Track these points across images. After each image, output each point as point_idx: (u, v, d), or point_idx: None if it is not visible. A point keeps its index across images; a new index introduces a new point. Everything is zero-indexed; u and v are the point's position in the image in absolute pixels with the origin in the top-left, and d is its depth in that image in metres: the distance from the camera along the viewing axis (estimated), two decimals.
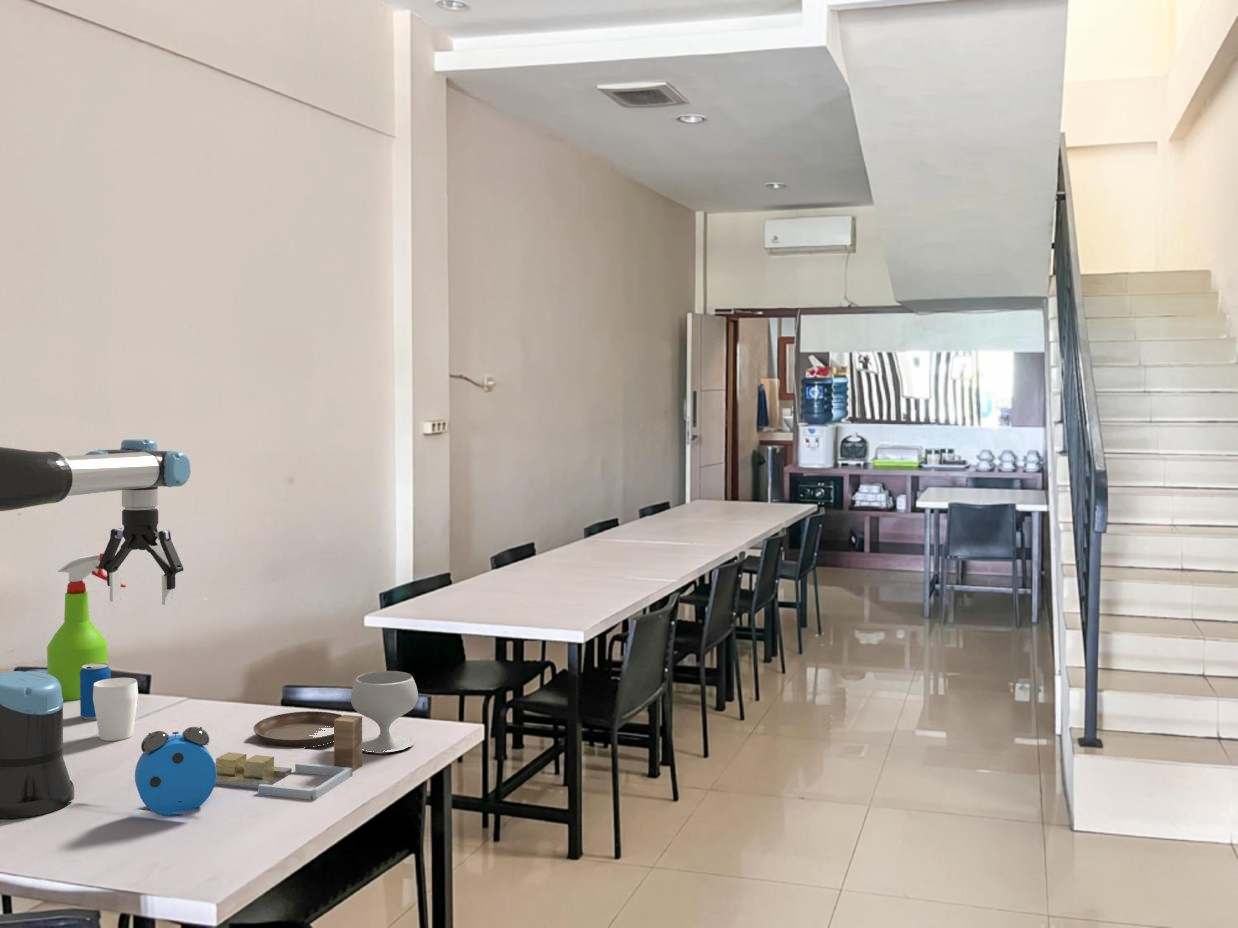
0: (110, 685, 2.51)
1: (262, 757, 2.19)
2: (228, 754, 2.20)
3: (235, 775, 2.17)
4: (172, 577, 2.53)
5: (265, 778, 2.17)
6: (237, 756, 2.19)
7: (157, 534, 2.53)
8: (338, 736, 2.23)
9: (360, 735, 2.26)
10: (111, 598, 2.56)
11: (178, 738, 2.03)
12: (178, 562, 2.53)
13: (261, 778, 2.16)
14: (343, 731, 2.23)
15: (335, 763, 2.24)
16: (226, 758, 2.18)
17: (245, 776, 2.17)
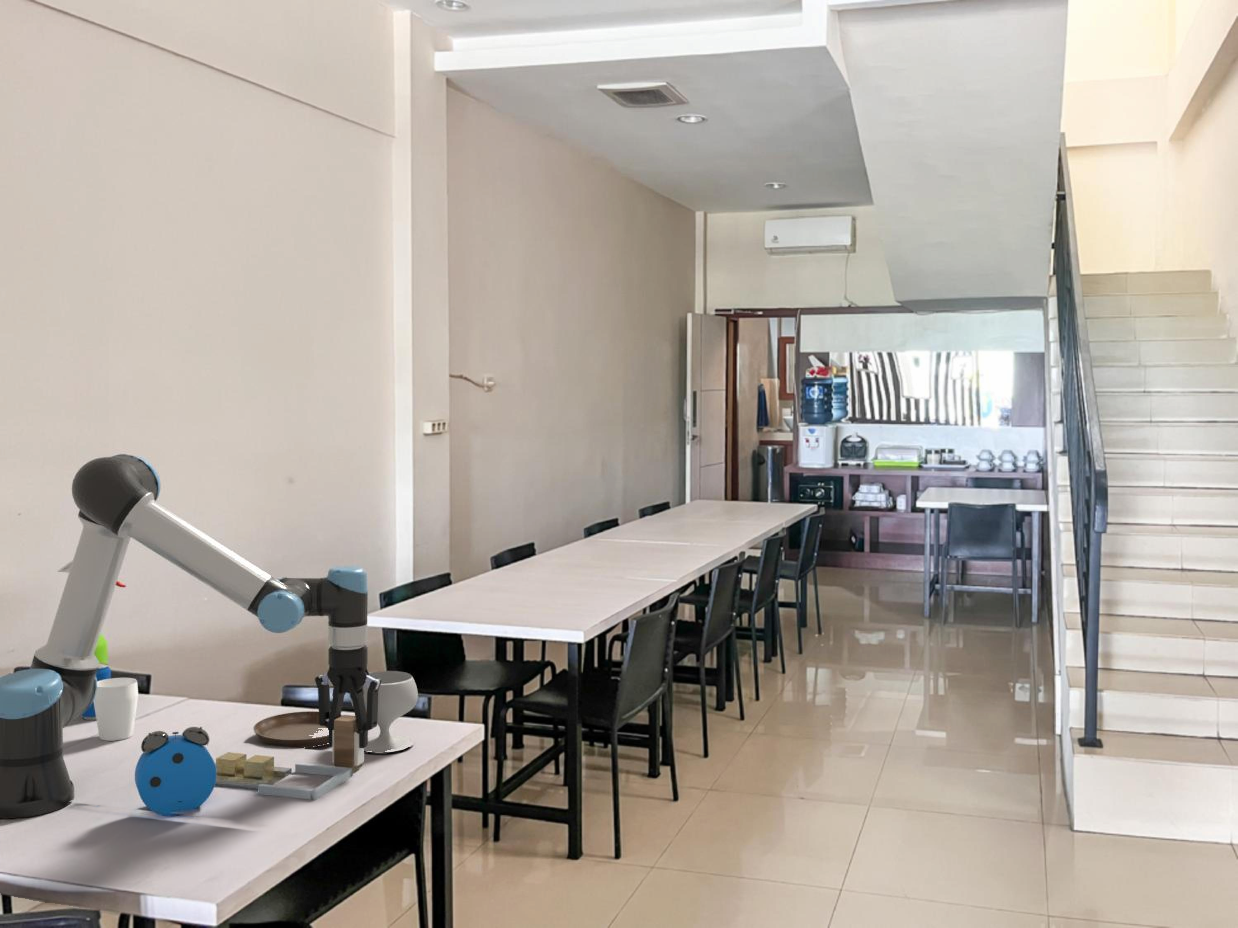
0: (110, 685, 2.51)
1: (262, 757, 2.19)
2: (228, 754, 2.20)
3: (235, 775, 2.17)
4: (365, 734, 2.24)
5: (265, 778, 2.17)
6: (237, 756, 2.19)
7: (368, 680, 2.23)
8: (338, 736, 2.23)
9: None
10: None
11: (178, 738, 2.03)
12: (375, 717, 2.24)
13: (261, 778, 2.16)
14: (343, 731, 2.23)
15: (335, 763, 2.24)
16: (226, 758, 2.18)
17: (245, 776, 2.17)
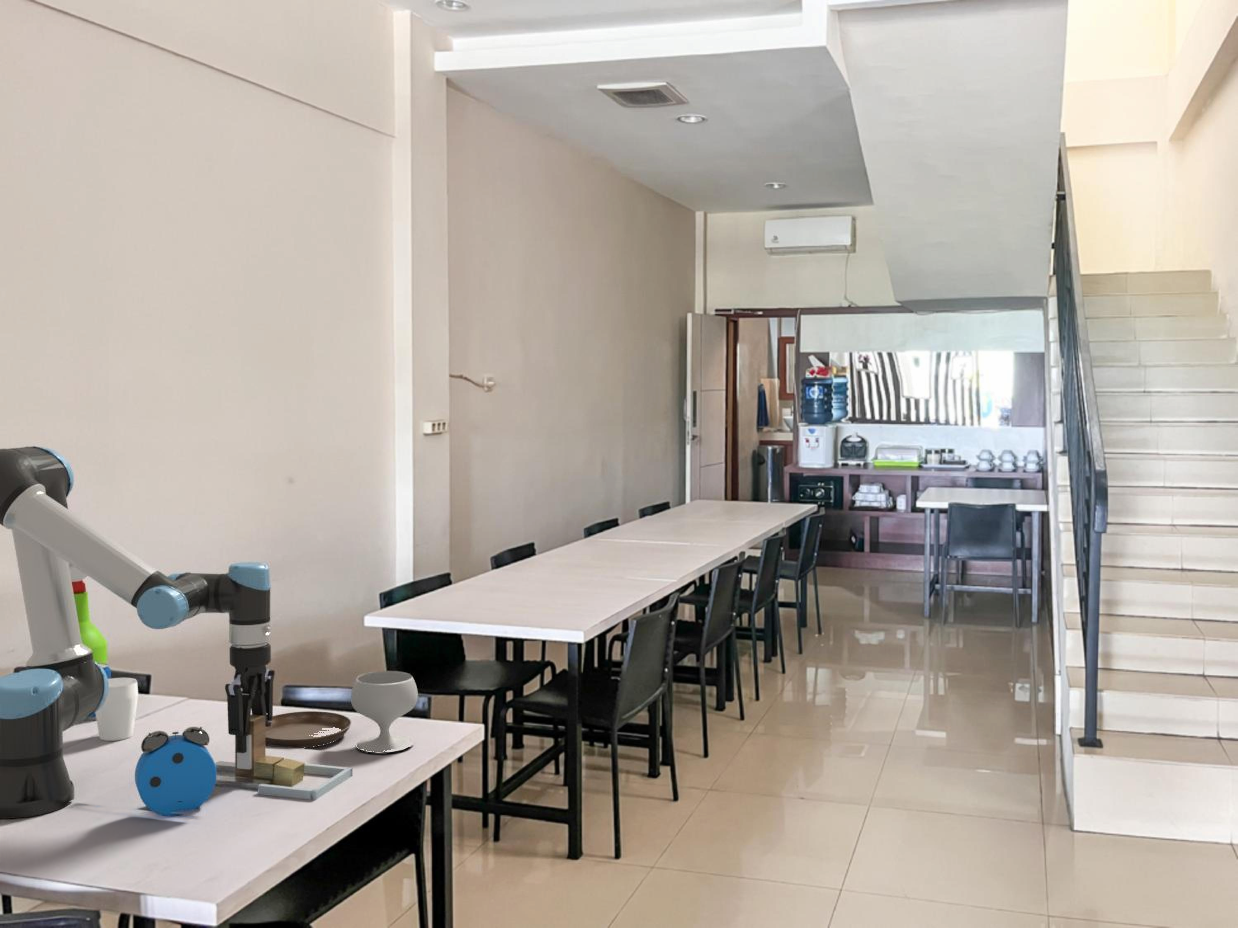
0: (110, 685, 2.51)
1: (293, 762, 2.17)
2: (265, 757, 2.18)
3: None
4: (238, 739, 2.14)
5: (294, 784, 2.15)
6: (274, 759, 2.17)
7: None
8: None
9: None
10: None
11: (178, 738, 2.03)
12: (236, 725, 2.12)
13: (290, 784, 2.14)
14: None
15: None
16: (264, 761, 2.16)
17: (274, 780, 2.15)
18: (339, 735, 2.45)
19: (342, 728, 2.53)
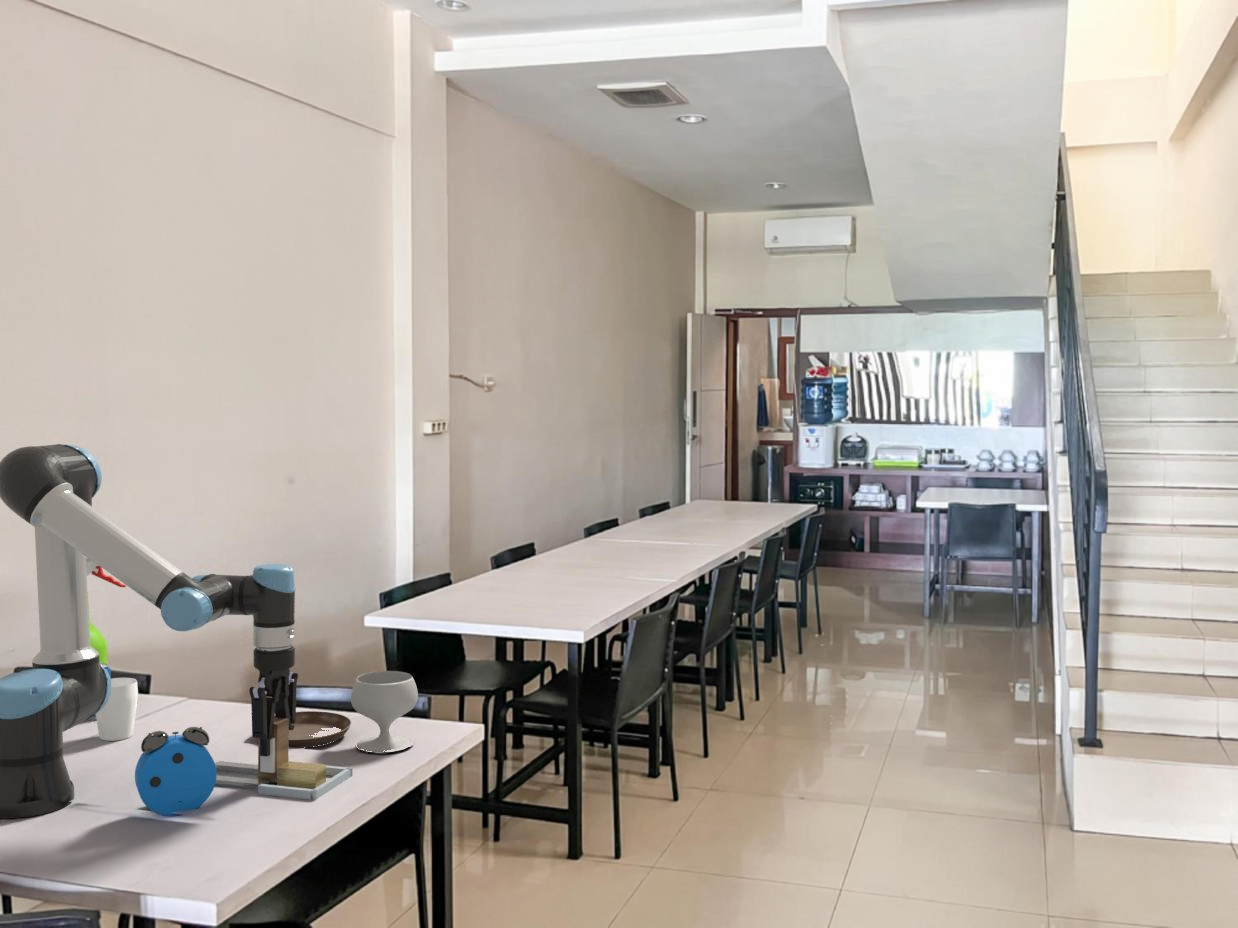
0: None
1: (314, 765, 2.16)
2: (288, 763, 2.17)
3: None
4: (262, 742, 2.13)
5: None
6: (298, 765, 2.16)
7: None
8: None
9: None
10: None
11: (178, 738, 2.03)
12: (260, 728, 2.11)
13: (314, 786, 2.13)
14: None
15: None
16: (287, 767, 2.15)
17: (297, 784, 2.14)
18: (339, 735, 2.45)
19: (342, 728, 2.53)
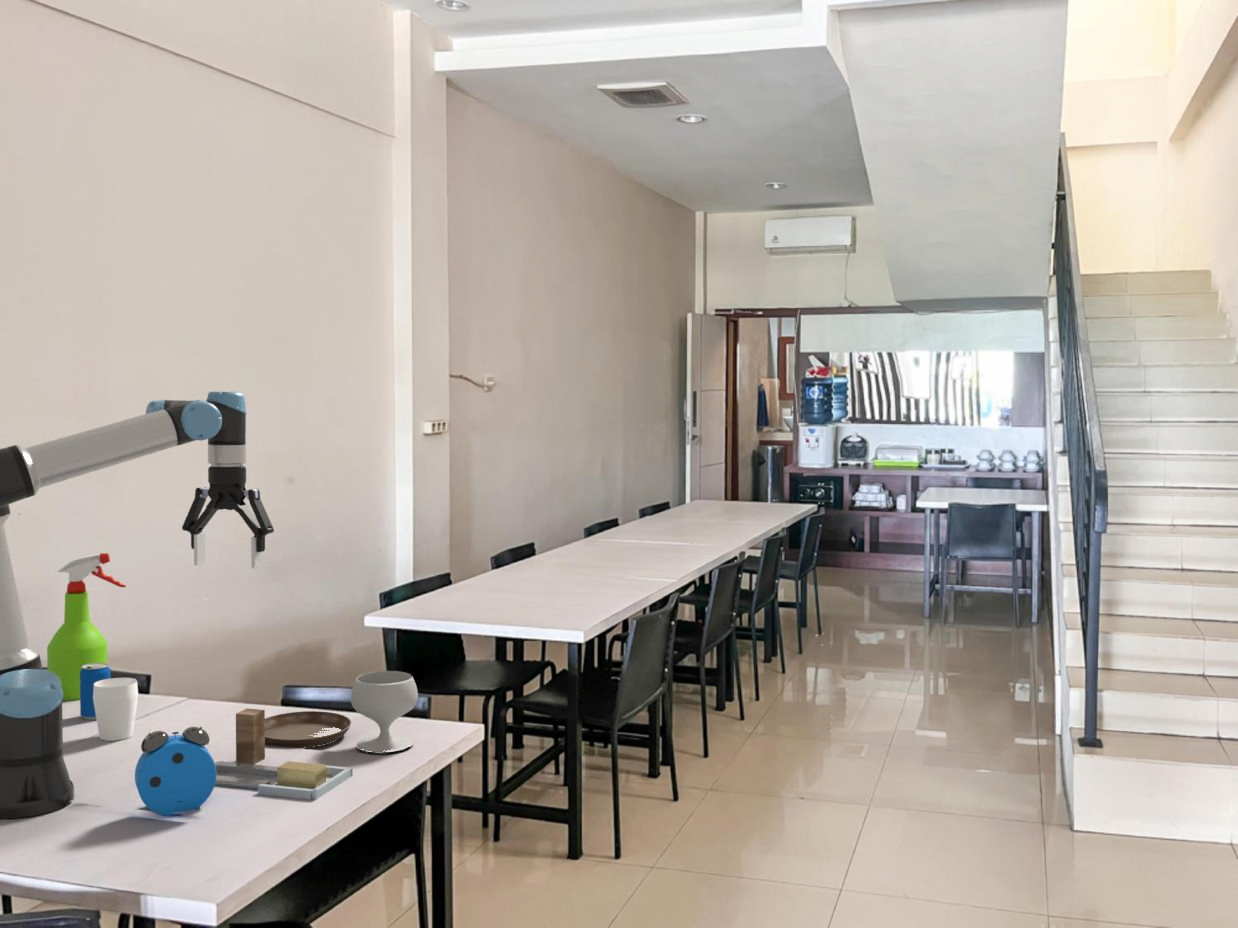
0: (110, 685, 2.51)
1: (314, 765, 2.16)
2: (288, 763, 2.17)
3: None
4: (262, 539, 2.37)
5: None
6: (297, 765, 2.16)
7: (246, 493, 2.37)
8: (240, 729, 2.27)
9: (263, 728, 2.30)
10: (196, 562, 2.40)
11: (178, 738, 2.03)
12: (269, 522, 2.37)
13: (314, 786, 2.13)
14: (245, 724, 2.27)
15: (237, 756, 2.28)
16: (287, 767, 2.15)
17: (297, 784, 2.14)
18: (339, 735, 2.45)
19: (342, 728, 2.53)
